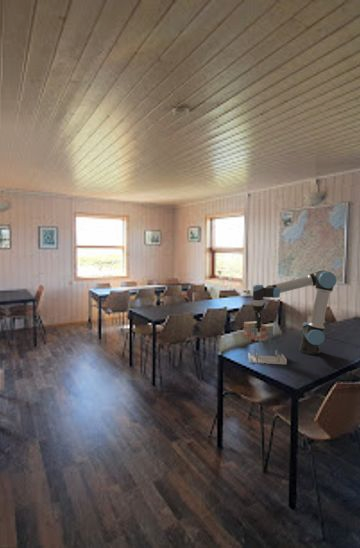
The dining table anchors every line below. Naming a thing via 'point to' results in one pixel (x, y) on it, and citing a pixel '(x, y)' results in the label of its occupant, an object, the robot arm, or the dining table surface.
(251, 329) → the stack of blocks
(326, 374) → the dining table surface
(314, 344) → the robot arm
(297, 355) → the dining table surface
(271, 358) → the rack with pegs
